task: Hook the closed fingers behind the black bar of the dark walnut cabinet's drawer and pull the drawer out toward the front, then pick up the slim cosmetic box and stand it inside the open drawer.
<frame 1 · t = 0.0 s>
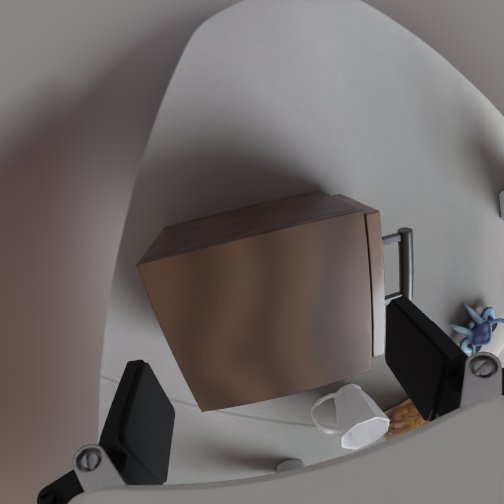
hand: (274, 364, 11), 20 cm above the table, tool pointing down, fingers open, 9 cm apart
cup: (337, 393, 38), on the table
cabinet: (258, 276, 31), on the table
house plant: (297, 463, 44), on the table
figurine: (470, 325, 37), on the table
drawer: (314, 286, 26), point 5 cm above the table, slide at 0.5 cm
candy box: (399, 408, 42), on the table
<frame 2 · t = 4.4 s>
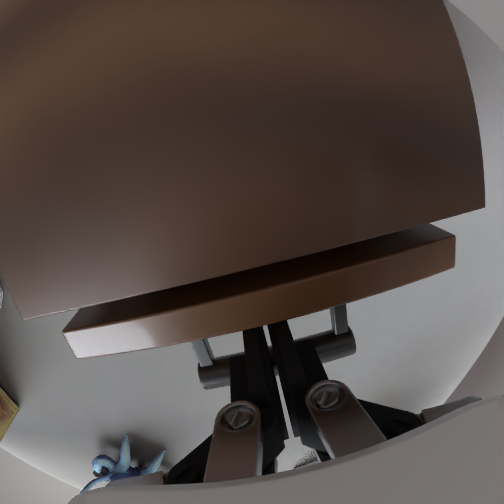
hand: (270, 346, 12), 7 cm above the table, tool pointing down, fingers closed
cabinet: (205, 67, 14), on the table
figurine: (131, 462, 24), on the table
drawer: (225, 153, 11), point 5 cm above the table, slide at 1.0 cm, touching gripper
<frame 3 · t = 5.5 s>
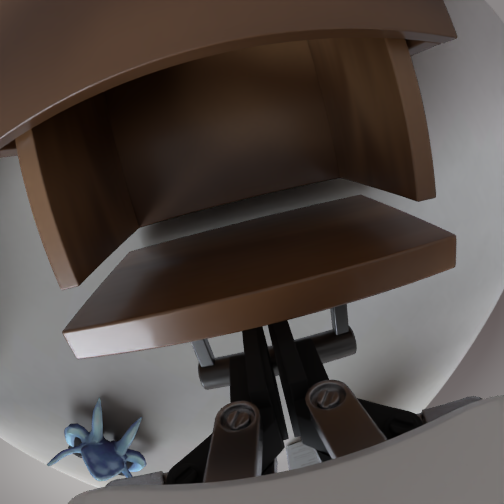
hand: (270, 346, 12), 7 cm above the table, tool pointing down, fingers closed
cosmetic box: (311, 449, 25), on the table
figurine: (108, 435, 23), on the table
drawer: (225, 153, 11), point 5 cm above the table, slide at 6.2 cm, touching gripper
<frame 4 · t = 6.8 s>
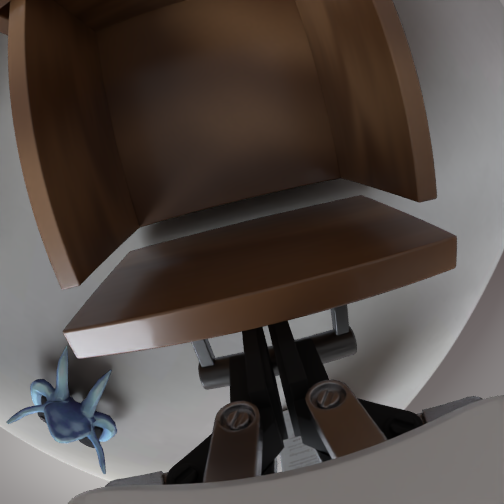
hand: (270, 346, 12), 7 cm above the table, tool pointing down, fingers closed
cosmetic box: (305, 420, 23), on the table
figurine: (78, 396, 21), on the table
drawer: (227, 153, 11), point 5 cm above the table, slide at 11.7 cm, touching gripper
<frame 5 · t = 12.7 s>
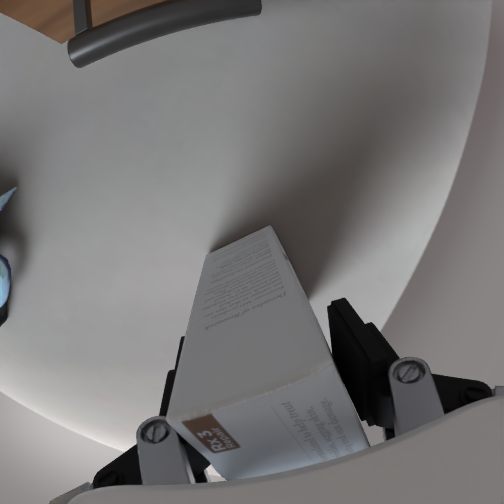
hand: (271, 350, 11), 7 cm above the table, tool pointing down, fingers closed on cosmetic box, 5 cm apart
cosmetic box: (255, 279, 18), on the table, touching gripper
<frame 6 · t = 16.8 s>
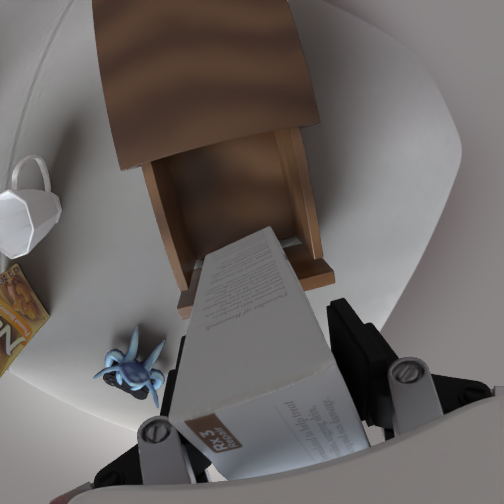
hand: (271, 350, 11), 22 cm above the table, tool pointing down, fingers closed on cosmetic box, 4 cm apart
cosmetic box: (254, 279, 18), point 15 cm above the table, touching gripper
cup: (49, 195, 29), on the table
cabinet: (204, 75, 27), on the table
figurine: (136, 361, 37), on the table
drawer: (241, 233, 27), point 5 cm above the table, slide at 11.8 cm
candy box: (26, 294, 32), on the table
when the fingers open (9 cm above the table, at t = 20.9 s): cosmetic box stays where it is, resting on drawer.
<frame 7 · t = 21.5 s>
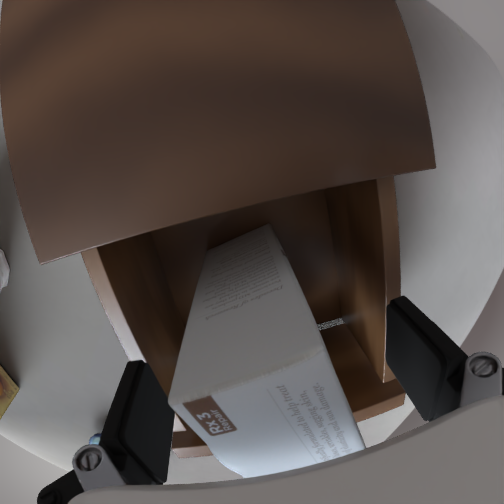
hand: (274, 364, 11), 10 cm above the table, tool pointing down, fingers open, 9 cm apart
cosmetic box: (253, 275, 19), point 2 cm above the table, touching drawer
cabinet: (201, 64, 16), on the table
drawer: (267, 334, 16), point 5 cm above the table, slide at 11.8 cm, touching cosmetic box
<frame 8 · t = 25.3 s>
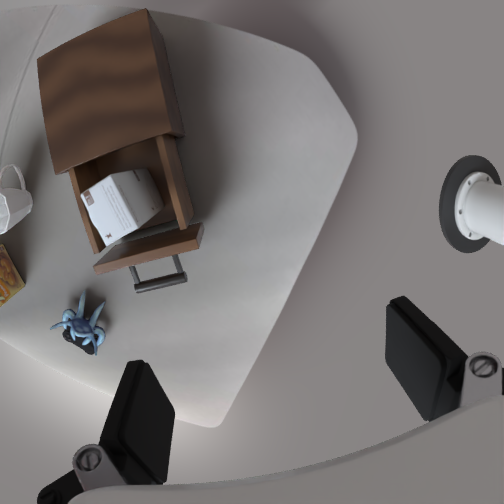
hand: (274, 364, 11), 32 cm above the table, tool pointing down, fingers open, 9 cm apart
cosmetic box: (142, 193, 38), point 2 cm above the table, touching drawer
cup: (24, 192, 37), on the table
cabinet: (123, 100, 35), on the table
figurine: (87, 320, 45), on the table
drawer: (140, 214, 35), point 5 cm above the table, slide at 11.8 cm, touching cosmetic box
candy box: (9, 268, 41), on the table
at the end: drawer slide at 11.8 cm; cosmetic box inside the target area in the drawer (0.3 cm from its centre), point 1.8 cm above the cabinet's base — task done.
